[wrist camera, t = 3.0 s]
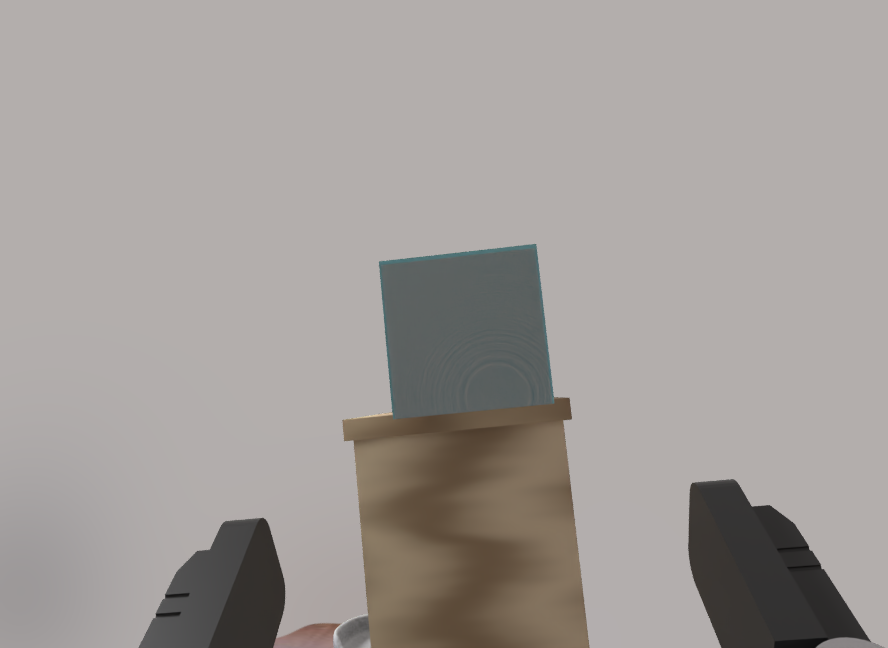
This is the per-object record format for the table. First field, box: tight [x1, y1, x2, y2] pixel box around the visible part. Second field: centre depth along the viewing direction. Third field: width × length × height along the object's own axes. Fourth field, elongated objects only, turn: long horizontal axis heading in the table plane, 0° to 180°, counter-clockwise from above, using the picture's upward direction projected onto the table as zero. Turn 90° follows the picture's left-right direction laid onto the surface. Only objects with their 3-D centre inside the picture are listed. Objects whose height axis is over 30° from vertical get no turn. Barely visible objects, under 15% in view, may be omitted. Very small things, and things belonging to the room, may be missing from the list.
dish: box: [333, 614, 371, 648], centre depth 90 cm, size 14×14×5 cm
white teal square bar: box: [379, 244, 554, 419], centre depth 30 cm, size 4×24×4 cm, turn 176°
